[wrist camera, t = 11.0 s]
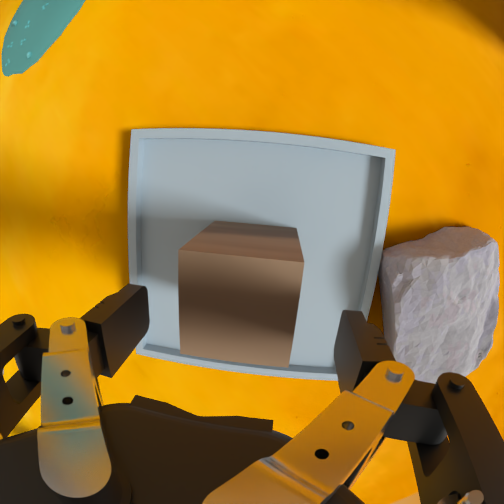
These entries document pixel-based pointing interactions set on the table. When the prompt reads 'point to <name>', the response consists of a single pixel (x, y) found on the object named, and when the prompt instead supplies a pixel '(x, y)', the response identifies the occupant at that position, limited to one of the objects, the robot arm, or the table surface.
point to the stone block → (440, 301)
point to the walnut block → (240, 293)
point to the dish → (264, 213)
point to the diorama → (35, 31)
